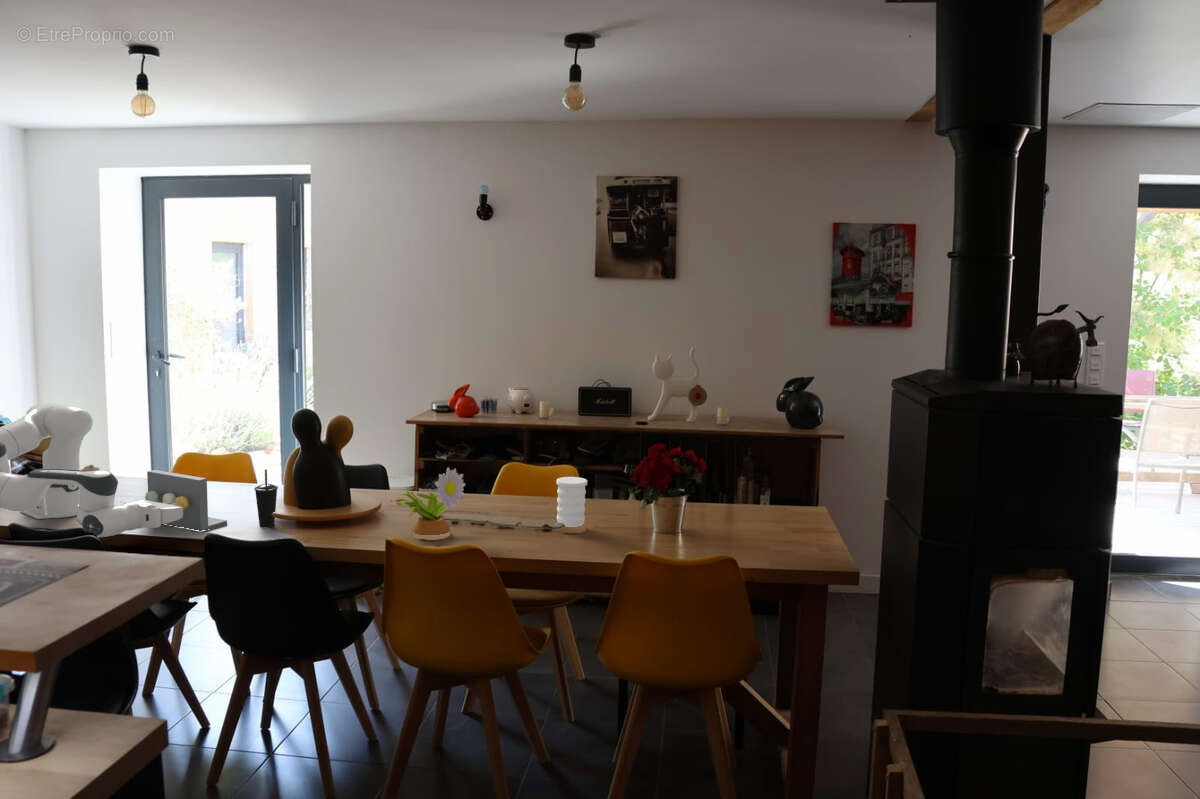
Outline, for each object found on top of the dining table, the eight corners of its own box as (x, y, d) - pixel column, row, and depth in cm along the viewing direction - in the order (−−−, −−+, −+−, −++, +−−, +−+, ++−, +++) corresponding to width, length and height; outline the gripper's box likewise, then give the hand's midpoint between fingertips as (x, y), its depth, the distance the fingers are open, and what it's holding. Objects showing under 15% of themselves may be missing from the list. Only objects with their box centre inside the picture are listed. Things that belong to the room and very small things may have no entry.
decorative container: (558, 535, 305) (559, 484, 302) (551, 525, 316) (552, 477, 313) (590, 533, 308) (591, 483, 305) (582, 524, 319) (583, 476, 316)
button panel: (149, 522, 305) (147, 471, 302) (176, 514, 315) (174, 465, 312) (201, 532, 295) (199, 480, 292) (227, 524, 305) (225, 474, 302)
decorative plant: (427, 549, 284) (427, 474, 280) (377, 535, 297) (377, 463, 294) (484, 531, 306) (485, 461, 302) (434, 519, 319) (435, 452, 316)
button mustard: (174, 509, 293) (174, 496, 293) (179, 507, 295) (179, 495, 295) (183, 511, 292) (183, 498, 291) (189, 509, 293) (188, 496, 293)
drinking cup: (253, 529, 300) (252, 472, 297) (256, 523, 307) (255, 467, 305) (277, 528, 302) (276, 471, 299) (279, 522, 309) (278, 466, 307)
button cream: (162, 505, 297) (162, 493, 297) (167, 504, 299) (167, 491, 298) (172, 507, 295) (171, 494, 295) (177, 506, 297) (176, 493, 297)
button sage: (145, 503, 299) (144, 491, 299) (150, 502, 301) (150, 490, 300) (154, 505, 297) (154, 492, 297) (159, 504, 299) (159, 491, 299)
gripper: (115, 519, 283) (153, 509, 295) (160, 528, 274) (197, 518, 287) (114, 500, 282) (152, 491, 294) (159, 508, 274) (196, 499, 286)
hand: (174, 504), depth 291 cm, fingers closed
